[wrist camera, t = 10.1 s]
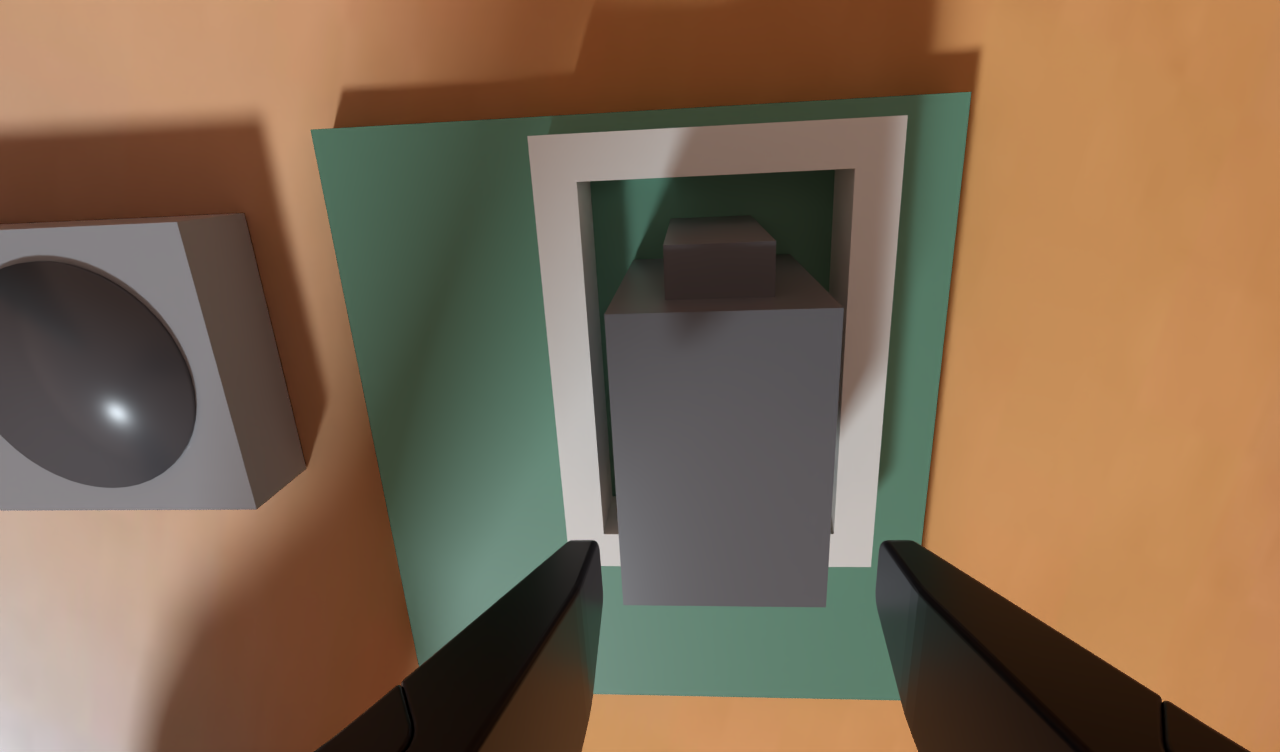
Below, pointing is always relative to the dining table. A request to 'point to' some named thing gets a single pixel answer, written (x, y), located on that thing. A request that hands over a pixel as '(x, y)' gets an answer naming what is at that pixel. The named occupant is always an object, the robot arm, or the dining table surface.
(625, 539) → the plug
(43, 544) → the dining table surface
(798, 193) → the board
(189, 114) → the dining table surface
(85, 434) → the grey square block
